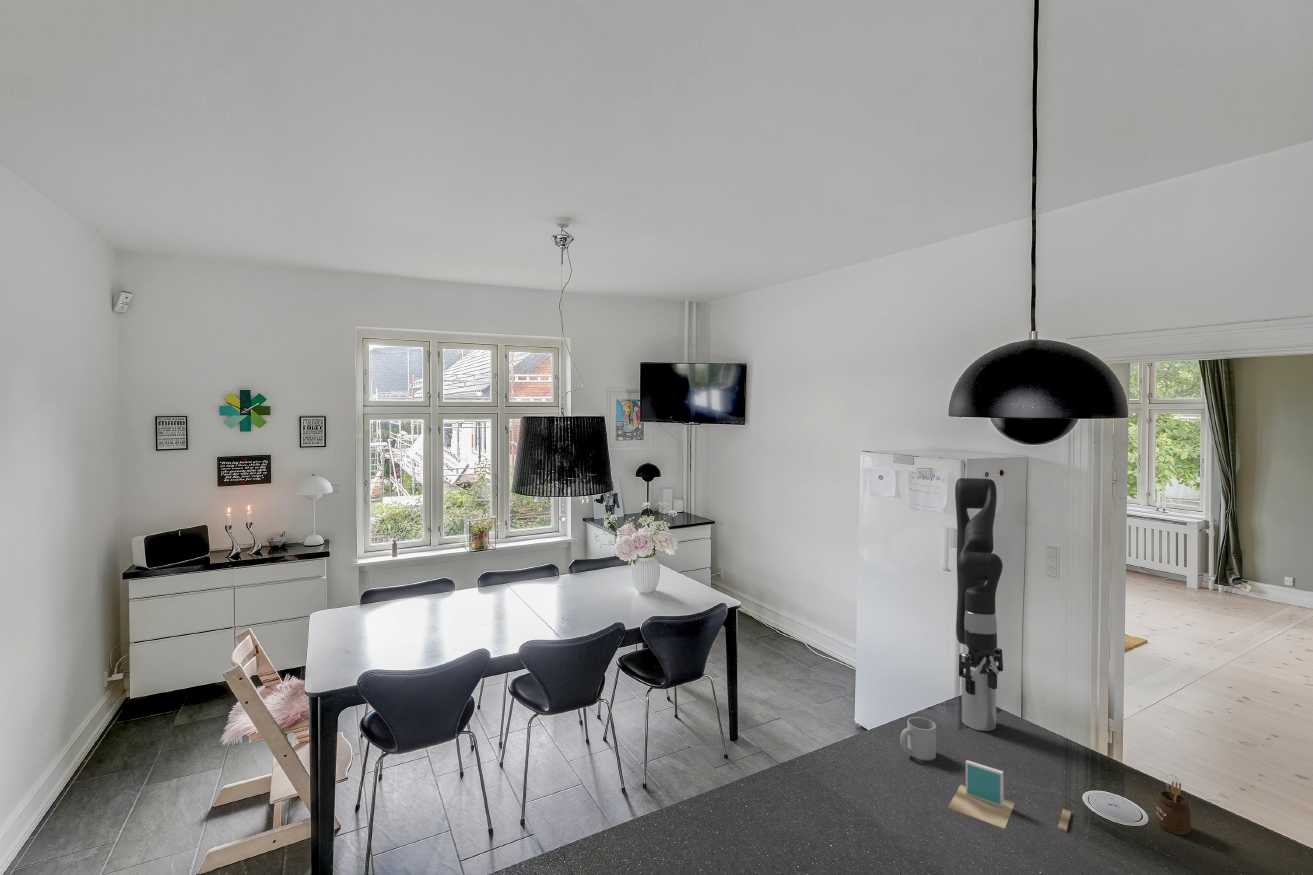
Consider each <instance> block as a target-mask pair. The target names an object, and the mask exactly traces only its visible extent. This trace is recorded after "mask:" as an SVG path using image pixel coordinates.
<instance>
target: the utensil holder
mask: <svg viewBox="0 0 1313 875" xmlns="http://www.w3.org/2000/svg"><path fill="white" fill-rule="evenodd" d="M1168 776H1169V777H1168ZM1171 777H1173V778H1175V779H1176V781H1174V780H1171V785H1170V784H1169V782H1170V781H1169V779H1170V778H1171ZM1165 778H1167V784H1166V785H1165V786H1166V790H1165V789H1164V790H1160V791H1159V792H1158V796H1157V797H1158V799H1157V800H1156V806H1155V807H1156V808H1155V810H1156V812H1155V814H1156V816H1155V818H1156V819H1155V820H1156V822H1157V824H1158V826H1159V827H1160V828H1161V829H1164V830H1165V831H1167V832H1168V833H1171V834H1173V835H1178V836H1187V835H1189V834H1190V833H1191V827H1192V824H1191V823H1192V817H1191V816H1192V815H1191V811H1190V808H1189V806H1190V805H1189V801H1188V798H1186V797H1185V796H1184V795H1183V794H1181V791H1182V783H1181V782H1180V781H1179V779H1178V777H1177V776H1175V775H1174V774H1171V773H1170V774H1167V775H1166V777H1165ZM1174 785H1175V786H1174ZM1169 786H1171V789H1170V788H1168V787H1169Z"/></svg>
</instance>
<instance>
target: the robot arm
mask: <svg viewBox="0 0 1313 875" xmlns="http://www.w3.org/2000/svg"><path fill="white" fill-rule="evenodd" d="M997 491H998V490H997V485H996V483H995V481H994V480H993V479H990V478H982V477H981V478H979V477H975V478H974V477H960V478H958V479H957V480H956V482H955V488H954V497H955V499H954V500H955V510H956V511H955V513H956V515H955V516H956V528H957V529H956V534H957V535H956V574H957V575H956V576H957V578H956V580H957V602H956V621H955V622H956V623H955V624H956V625H955V626H956V627H955V631H956V632H955V634H956V638H957V639H956V640H957V641H958V643H959V644H961V645H965V646H967V649H968V650H967V653H961V652H960V653H959V655H958V676H959V677H960V678H961V722H962V723H963V724H964V725H965V726H966V727H968V728H970V729H973V730H976V731H982V732H991V731H995V730H996V729H997V689H998V675H999V674H1000V672H1003V670H1004V661H1003V660H1004V659H1003V658H1004V657H1003V649H1002V648H998V629H997V628H998V626H997V625H998V624H997V623H998V622H997V615H996V595H997V594H996V593H997V588H998V584H999V582H1000V578H1001V576H1002V572H1003V566H1004V565H1003V561H1002V559H1001V557H1000V556H999V555H997V554H996V553H993V551H994V548H995V547H994V522H995V519H996V518H995V517H996V511H997V509H996V508H997V501H998V500H997V499H998V493H997ZM968 509H973V510H974V509H978V510H979V509H981V510H979V512H977V514H975V515H974V516H973V517H972V518H970V515H969V514H968ZM997 664H998V665H997Z"/></svg>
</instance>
